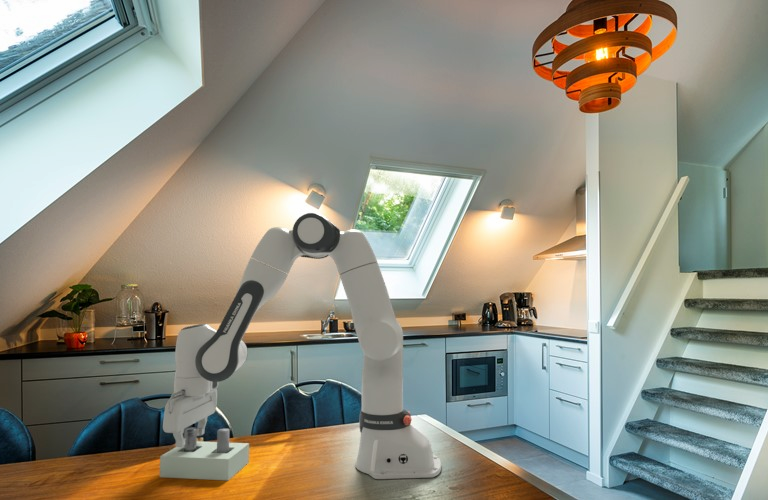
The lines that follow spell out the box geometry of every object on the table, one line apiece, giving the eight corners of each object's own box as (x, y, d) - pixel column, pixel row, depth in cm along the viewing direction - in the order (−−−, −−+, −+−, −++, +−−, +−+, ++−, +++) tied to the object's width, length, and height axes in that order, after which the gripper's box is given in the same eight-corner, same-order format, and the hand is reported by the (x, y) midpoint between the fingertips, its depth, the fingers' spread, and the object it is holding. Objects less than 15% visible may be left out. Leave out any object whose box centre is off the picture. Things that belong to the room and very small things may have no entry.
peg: (198, 466, 121) (199, 427, 122) (191, 471, 118) (193, 431, 119) (187, 466, 122) (188, 427, 123) (180, 470, 119) (182, 430, 120)
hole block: (248, 462, 124) (249, 424, 125) (228, 480, 113) (229, 438, 113) (186, 459, 127) (187, 422, 128) (159, 477, 115) (161, 435, 116)
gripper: (181, 395, 111) (179, 454, 110) (221, 379, 132) (220, 429, 130) (157, 394, 112) (154, 453, 111) (200, 379, 132) (199, 428, 131)
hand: (190, 440), depth 121 cm, fingers open, 8 cm apart
